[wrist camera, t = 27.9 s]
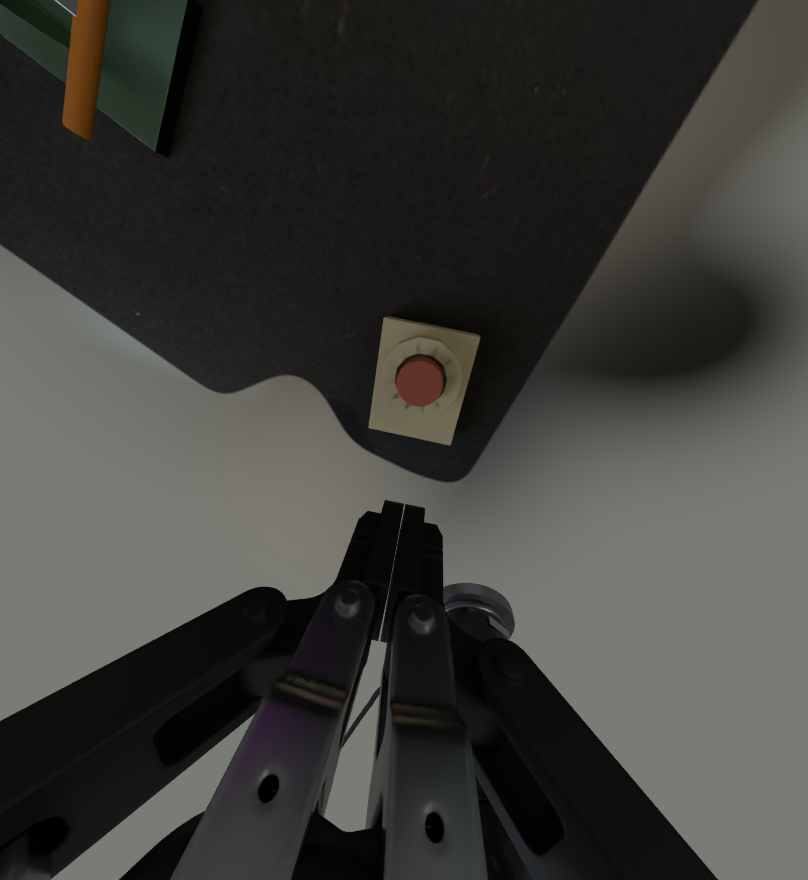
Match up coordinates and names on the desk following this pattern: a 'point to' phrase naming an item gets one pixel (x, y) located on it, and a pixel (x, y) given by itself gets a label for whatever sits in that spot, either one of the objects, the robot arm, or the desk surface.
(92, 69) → the lever
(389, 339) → the stop housing
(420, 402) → the stop button
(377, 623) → the robot arm
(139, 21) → the switch bracket
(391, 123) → the desk surface
